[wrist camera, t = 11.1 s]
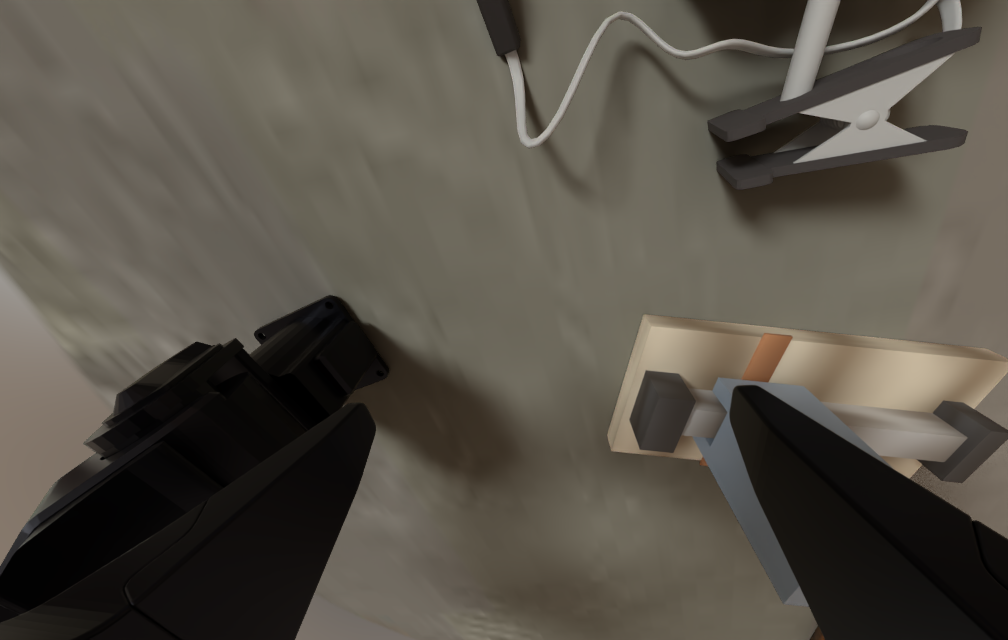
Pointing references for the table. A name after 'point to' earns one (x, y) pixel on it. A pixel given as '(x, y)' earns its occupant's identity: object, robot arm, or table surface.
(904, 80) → the clip-on lamp
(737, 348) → the rail
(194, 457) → the robot arm
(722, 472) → the pale blue rectangular block
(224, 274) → the table surface
